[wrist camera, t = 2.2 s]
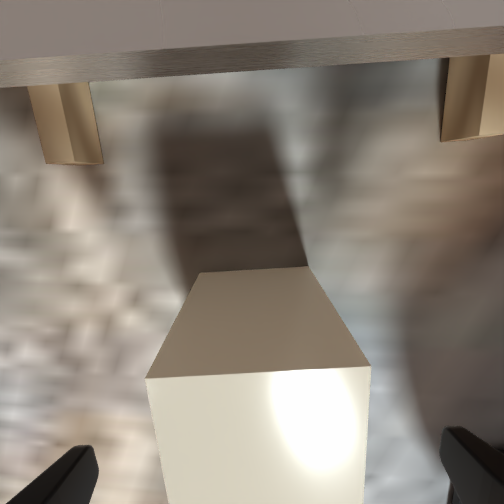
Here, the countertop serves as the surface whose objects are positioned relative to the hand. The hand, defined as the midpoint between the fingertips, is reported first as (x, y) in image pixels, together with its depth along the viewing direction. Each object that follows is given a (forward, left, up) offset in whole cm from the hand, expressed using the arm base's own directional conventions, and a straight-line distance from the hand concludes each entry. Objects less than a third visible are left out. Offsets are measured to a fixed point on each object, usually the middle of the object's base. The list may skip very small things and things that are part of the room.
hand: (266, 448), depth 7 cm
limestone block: (0, 0, -7) cm, 7 cm away
